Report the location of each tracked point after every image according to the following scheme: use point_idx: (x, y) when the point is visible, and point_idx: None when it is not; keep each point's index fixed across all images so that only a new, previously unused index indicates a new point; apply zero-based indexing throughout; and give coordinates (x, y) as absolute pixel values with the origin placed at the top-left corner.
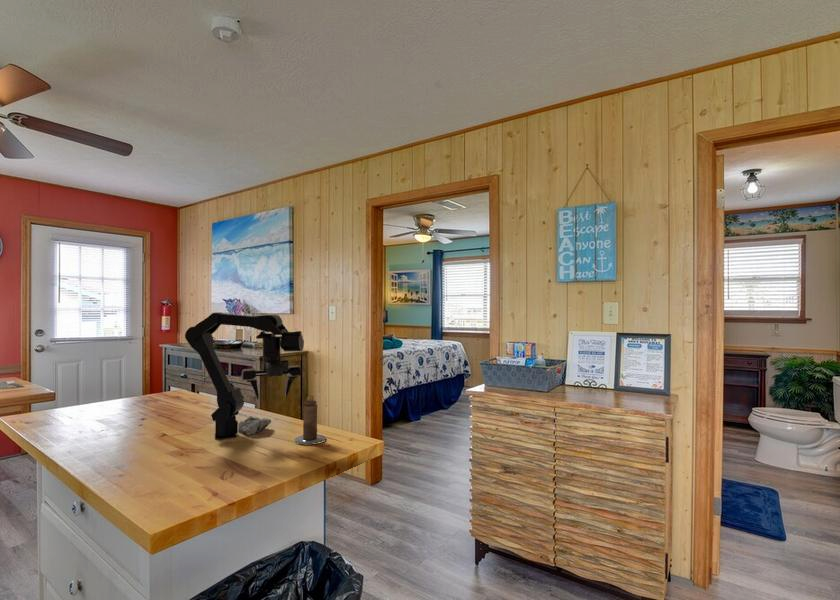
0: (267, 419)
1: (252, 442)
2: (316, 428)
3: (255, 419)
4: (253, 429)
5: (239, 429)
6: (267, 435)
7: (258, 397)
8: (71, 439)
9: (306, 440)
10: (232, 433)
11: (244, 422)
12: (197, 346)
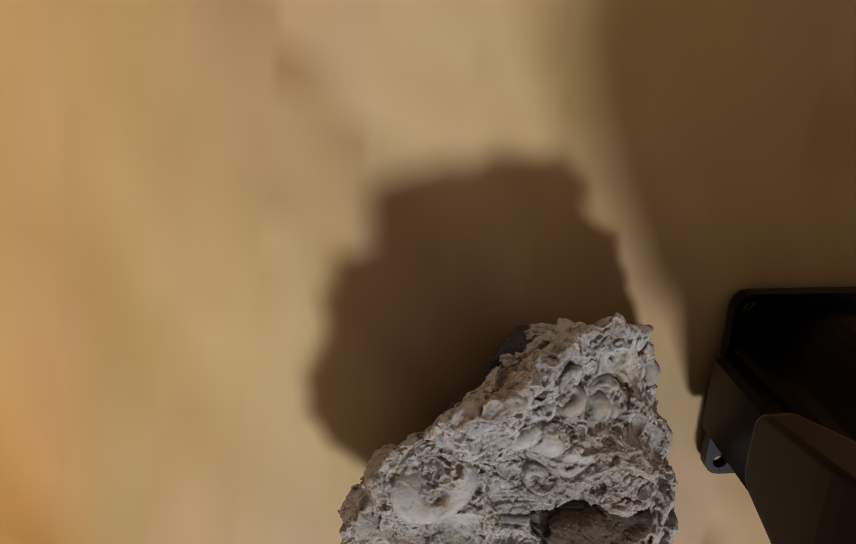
0: (396, 480)
1: (615, 24)
2: None
3: (534, 531)
4: (573, 323)
5: (670, 471)
6: (408, 242)
7: (794, 434)
8: None
9: None
10: (776, 342)
11: (654, 505)
12: None
